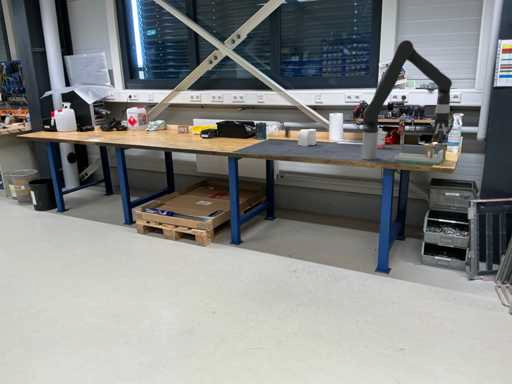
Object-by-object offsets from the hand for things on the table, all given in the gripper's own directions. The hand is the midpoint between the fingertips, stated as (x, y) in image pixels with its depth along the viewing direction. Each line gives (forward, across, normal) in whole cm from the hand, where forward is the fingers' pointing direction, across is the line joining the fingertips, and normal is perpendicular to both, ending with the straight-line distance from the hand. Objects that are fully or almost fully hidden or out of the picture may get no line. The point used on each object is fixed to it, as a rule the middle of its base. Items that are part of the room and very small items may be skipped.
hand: (440, 140), depth 251 cm
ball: (+9, 0, -11) cm, 14 cm away
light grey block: (+12, -101, +18) cm, 104 cm away
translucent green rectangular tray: (+12, -10, -7) cm, 17 cm away
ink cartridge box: (+12, -47, +27) cm, 56 cm away
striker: (+10, +2, -6) cm, 12 cm away
